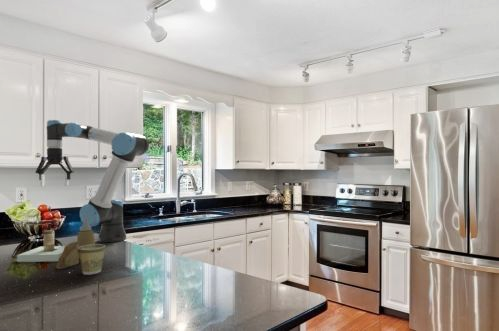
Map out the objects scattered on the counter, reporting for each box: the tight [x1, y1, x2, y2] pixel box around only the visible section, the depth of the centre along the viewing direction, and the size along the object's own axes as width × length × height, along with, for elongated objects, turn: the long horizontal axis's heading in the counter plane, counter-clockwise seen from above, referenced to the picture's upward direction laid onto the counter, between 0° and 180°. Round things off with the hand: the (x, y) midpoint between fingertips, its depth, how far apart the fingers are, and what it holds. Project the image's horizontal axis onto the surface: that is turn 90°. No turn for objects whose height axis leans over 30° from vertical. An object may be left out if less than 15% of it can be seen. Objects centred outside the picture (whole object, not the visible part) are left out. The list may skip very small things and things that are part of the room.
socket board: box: [16, 245, 66, 263], centre depth 169 cm, size 18×18×3 cm
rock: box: [55, 241, 80, 270], centre depth 152 cm, size 11×9×10 cm
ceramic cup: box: [77, 243, 106, 276], centre depth 143 cm, size 13×10×10 cm
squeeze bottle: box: [76, 218, 96, 256], centre depth 165 cm, size 8×8×18 cm
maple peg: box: [43, 229, 55, 252], centre depth 169 cm, size 4×4×12 cm
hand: (55, 185), depth 203 cm, fingers open, 13 cm apart
